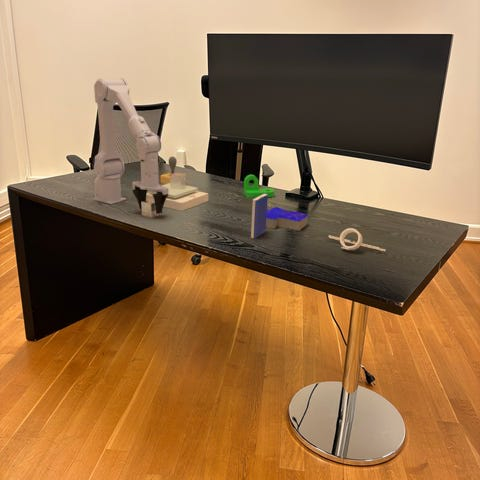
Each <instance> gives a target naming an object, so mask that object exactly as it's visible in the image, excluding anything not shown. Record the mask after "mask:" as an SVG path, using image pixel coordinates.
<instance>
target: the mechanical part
mask: <svg viewBox="0 0 480 480" xmlns="http://www.w3.org/2000/svg"><path fill="white" fill-rule="evenodd" d="M251 180H252V181H253V184H249V183H250V182H251ZM263 194H268V198H273V197H275V189H274V188H273V187H272V188H268V187H267V188H259V178H258V177H257V176H256V175H254V174H248V175H246V176H245V177H244V181H243V195H244V196H245V197H246V198H251V199H255V198H257V197H259V196H261V195H263Z"/></svg>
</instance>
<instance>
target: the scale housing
mask: <svg viewBox="0 0 480 480" xmlns="http://www.w3.org/2000/svg"><path fill="white" fill-rule="evenodd" d="M153 194H154V193H149V192H147V195H146V200H148V199H153V200H154V198H153ZM207 202H209V193H208V192H202V191H199V190H198V191H195V192H192V193H189V194H186V195H183V196H180V197H177V198H171V197H167V198H166V200H165V202H164V205H163V208H168V209H172V210H176V211H180V212H183V211H186V210H188V209H191V208H194V207H196V206H199V205H202V204H204V203H207Z"/></svg>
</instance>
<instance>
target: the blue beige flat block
mask: <svg viewBox="0 0 480 480" xmlns="http://www.w3.org/2000/svg"><path fill="white" fill-rule="evenodd" d="M308 218H309V215H308V214H306V213H302V212H299V211H292V210H287V209H283V208H281V207H278V206H276V207H271V208H270V209H267V216H266V228H268V229H272V228H273V229H272V230H274V229H276V228H282V227H283V228H282V229H287V228H289V229H288V230H292V229H293V230H292V231H297V230H298V232H299V231H301V230H302V229H303V228H305V227H306V226H307V225H308ZM277 226H278V227H277Z"/></svg>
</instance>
